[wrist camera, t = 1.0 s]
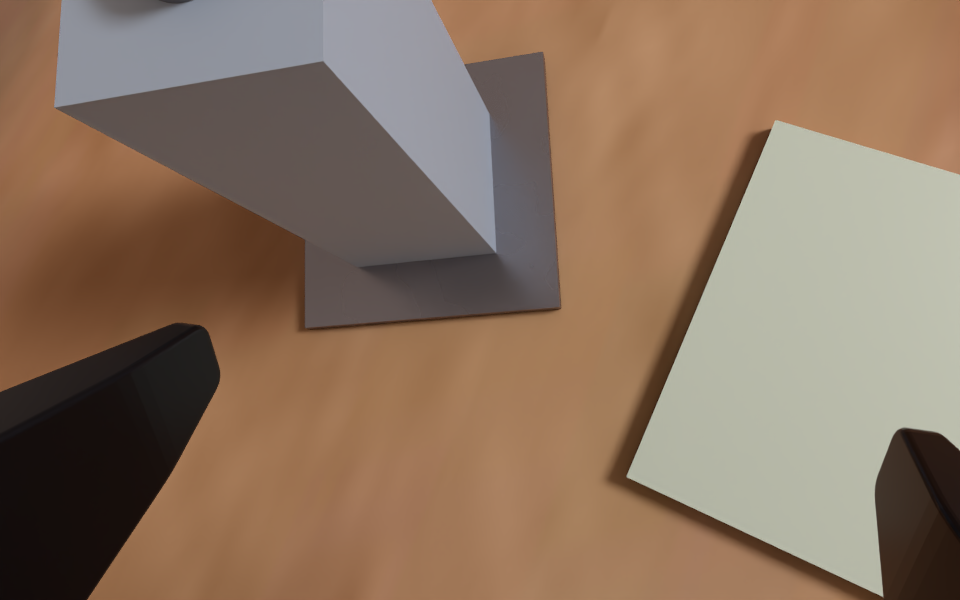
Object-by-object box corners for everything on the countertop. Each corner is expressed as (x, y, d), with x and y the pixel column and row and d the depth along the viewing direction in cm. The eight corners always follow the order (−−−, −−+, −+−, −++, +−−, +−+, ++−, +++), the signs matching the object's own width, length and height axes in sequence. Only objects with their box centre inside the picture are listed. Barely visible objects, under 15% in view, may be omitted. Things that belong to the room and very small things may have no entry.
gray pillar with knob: (496, 253, 23) (298, 33, 10) (357, 267, 24) (14, 85, 11) (489, 113, 24) (299, -257, 11) (355, 133, 25) (35, -181, 12)
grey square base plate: (561, 308, 23) (546, 290, 20) (310, 329, 25) (259, 315, 22) (544, 57, 24) (529, 1, 21) (310, 95, 26) (262, 49, 23)
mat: (1059, 677, 18) (1072, 685, 18) (627, 475, 22) (626, 476, 21) (1213, 260, 19) (1231, 255, 18) (772, 127, 22) (775, 120, 22)
